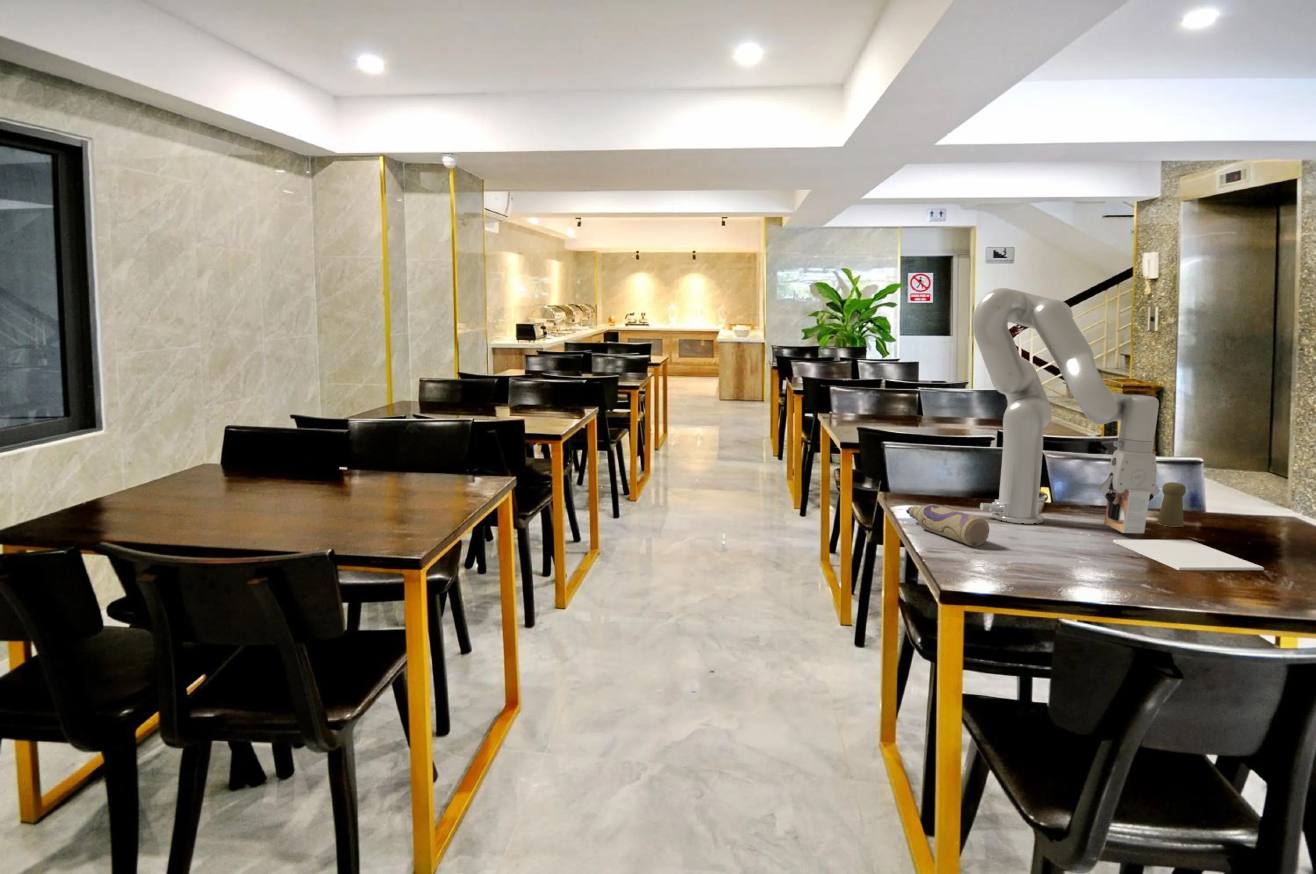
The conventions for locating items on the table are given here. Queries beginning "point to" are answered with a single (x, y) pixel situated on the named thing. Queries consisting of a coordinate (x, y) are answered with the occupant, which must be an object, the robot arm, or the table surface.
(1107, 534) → the table surface
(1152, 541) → the mat
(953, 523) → the decorative bottle
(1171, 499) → the cork
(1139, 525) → the small box
